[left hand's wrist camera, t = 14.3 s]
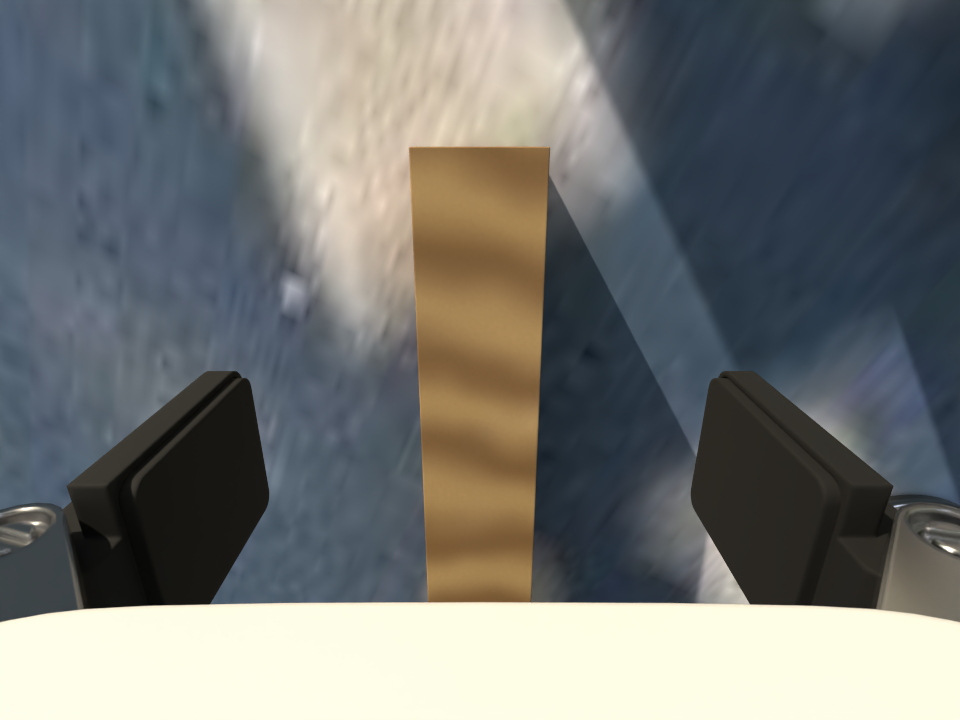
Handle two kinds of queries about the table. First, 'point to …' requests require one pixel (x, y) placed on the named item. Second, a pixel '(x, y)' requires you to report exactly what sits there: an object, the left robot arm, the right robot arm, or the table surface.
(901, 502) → the right robot arm
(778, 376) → the table surface
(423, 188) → the post
